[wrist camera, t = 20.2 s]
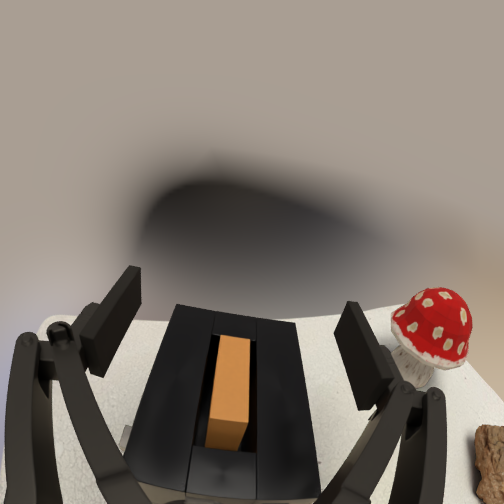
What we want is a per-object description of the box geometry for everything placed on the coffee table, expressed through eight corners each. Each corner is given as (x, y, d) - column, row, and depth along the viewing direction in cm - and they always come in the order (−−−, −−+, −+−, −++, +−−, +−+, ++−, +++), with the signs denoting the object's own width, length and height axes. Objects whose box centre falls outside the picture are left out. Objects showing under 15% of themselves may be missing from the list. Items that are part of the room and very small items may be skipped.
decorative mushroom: (379, 335, 44) (416, 259, 37) (442, 367, 36) (487, 295, 30) (352, 381, 33) (402, 290, 27) (431, 423, 26) (498, 340, 20)
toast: (202, 462, 18) (209, 417, 15) (211, 393, 25) (220, 334, 22) (231, 465, 18) (248, 422, 15) (235, 397, 26) (250, 339, 22)
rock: (513, 505, 8) (539, 487, 6) (466, 514, 11) (496, 497, 9) (506, 439, 20) (526, 420, 18) (464, 437, 23) (486, 415, 21)
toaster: (128, 500, 14) (98, 468, 10) (165, 366, 31) (164, 301, 27) (278, 521, 15) (322, 497, 11) (272, 382, 32) (295, 322, 28)
